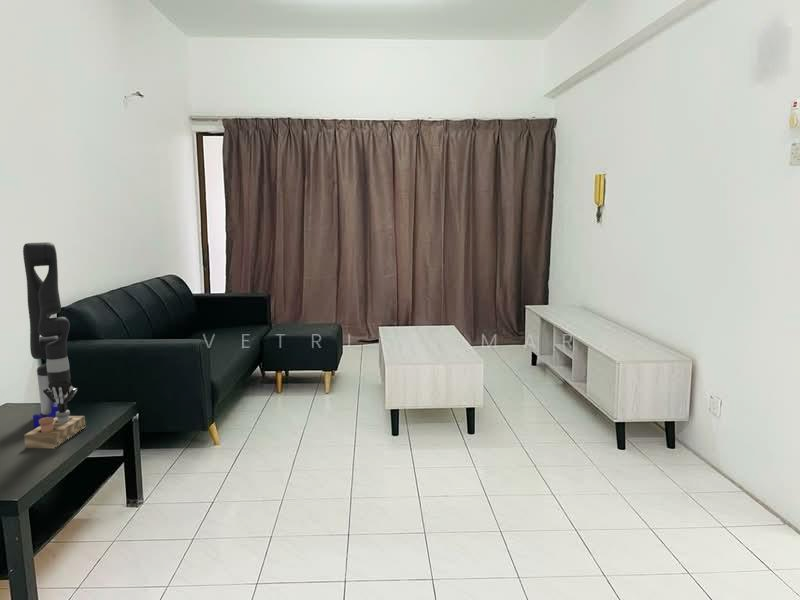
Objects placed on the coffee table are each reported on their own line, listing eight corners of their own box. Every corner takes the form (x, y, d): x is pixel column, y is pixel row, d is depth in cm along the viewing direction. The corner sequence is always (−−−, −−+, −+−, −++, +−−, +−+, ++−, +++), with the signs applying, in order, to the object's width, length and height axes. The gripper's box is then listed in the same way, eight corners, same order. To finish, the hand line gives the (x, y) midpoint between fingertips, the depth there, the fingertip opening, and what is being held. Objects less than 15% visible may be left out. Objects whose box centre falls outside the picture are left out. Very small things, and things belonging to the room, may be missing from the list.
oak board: (58, 427, 238) (57, 415, 237) (85, 428, 237) (84, 416, 236) (25, 448, 218) (24, 435, 217) (54, 448, 217) (53, 435, 217)
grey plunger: (62, 428, 235) (60, 409, 234) (74, 428, 235) (72, 409, 233) (54, 433, 230) (52, 414, 229) (66, 433, 230) (64, 414, 229)
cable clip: (52, 419, 248) (51, 405, 247) (62, 419, 247) (60, 405, 246) (31, 429, 236) (29, 415, 235) (41, 430, 235) (39, 415, 235)
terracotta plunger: (46, 436, 225) (44, 416, 224) (58, 436, 225) (56, 416, 223) (37, 441, 220) (35, 421, 219) (50, 441, 220) (48, 421, 219)
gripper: (80, 366, 232) (84, 408, 234) (47, 366, 232) (52, 408, 235) (69, 371, 224) (73, 415, 227) (35, 371, 225) (40, 415, 228)
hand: (62, 412), depth 231 cm, fingers closed
